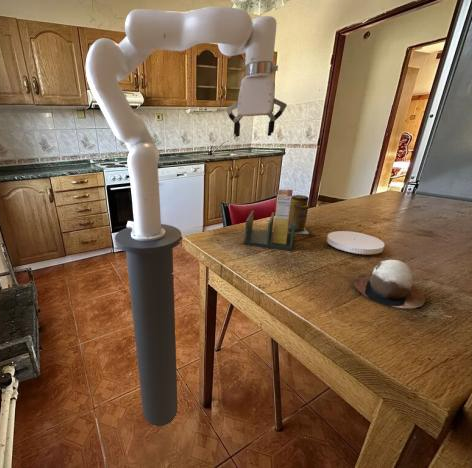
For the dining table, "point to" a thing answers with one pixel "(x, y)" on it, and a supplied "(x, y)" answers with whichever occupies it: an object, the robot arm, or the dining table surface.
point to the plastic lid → (355, 242)
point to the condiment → (298, 214)
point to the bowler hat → (390, 285)
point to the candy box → (282, 216)
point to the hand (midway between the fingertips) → (252, 136)
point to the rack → (266, 235)
